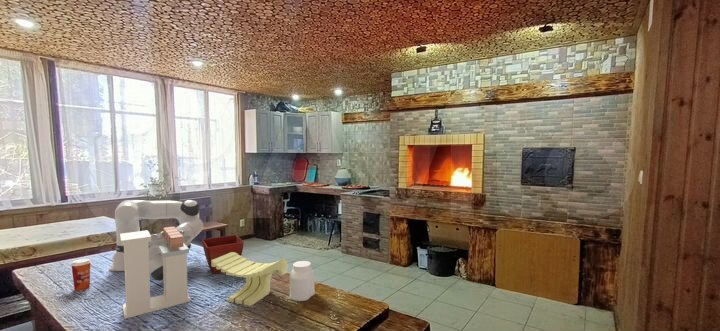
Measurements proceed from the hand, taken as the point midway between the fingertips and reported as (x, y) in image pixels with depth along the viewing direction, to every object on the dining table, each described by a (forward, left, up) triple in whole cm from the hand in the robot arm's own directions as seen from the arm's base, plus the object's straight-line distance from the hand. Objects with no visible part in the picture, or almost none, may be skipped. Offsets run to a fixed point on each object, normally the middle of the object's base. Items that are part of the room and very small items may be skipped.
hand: (169, 232), depth 152 cm
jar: (+44, +47, -29) cm, 71 cm away
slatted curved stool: (+29, +28, -29) cm, 50 cm away
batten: (+9, 0, -2) cm, 10 cm away
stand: (+11, -7, -29) cm, 32 cm away
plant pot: (-15, +28, -29) cm, 43 cm away
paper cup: (-33, -34, -29) cm, 55 cm away
